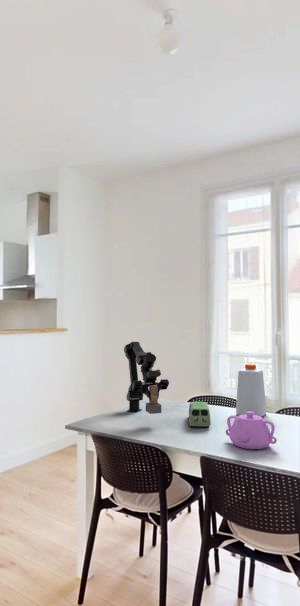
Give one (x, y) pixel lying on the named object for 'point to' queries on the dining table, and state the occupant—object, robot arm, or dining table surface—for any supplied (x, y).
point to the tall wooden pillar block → (153, 401)
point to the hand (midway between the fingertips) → (154, 399)
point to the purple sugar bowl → (250, 431)
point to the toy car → (199, 414)
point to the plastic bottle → (250, 391)
